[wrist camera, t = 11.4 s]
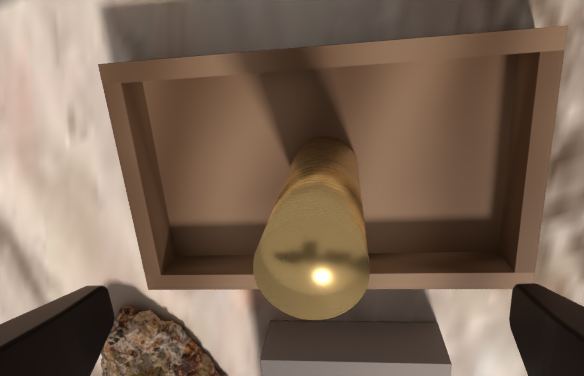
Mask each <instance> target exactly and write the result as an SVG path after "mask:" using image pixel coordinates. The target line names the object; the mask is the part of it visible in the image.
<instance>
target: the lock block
mask: <svg viewBox="0 0 584 376" xmlns="http://www.w3.org/2000/svg"><path fill="white" fill-rule="evenodd" d="M260 362H261V370H262V376H451V366H452V364H451V361H450V358H449V355H448V352H447V349H446V346H445V343H444V340H443V338H442V335H441V332H440V329H439V326H438V323H432V322H317V321H270V324H269V328H268V332H267V336H266V340H265V344H264V348H263V351H262V355H261V359H260Z"/></svg>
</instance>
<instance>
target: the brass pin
mask: <svg viewBox="0 0 584 376" xmlns="http://www.w3.org/2000/svg"><path fill="white" fill-rule="evenodd" d="M253 272H254V277H255V281H256V283H257V286H258V288H259V290H260V291H261V293H262V294H263V296H264V297H265V298H266V299H267V300H268V301H269V302H270V303H271V304H272V305H273V306H274V307H276V308H277V309H279V310H280V311H282V312H284V313H286V314H288V315H290V316H293V317H296V318H300V319H306V320H323V319H329V318H333V317H336V316H338V315H341V314H343V313H345V312H347V311H348V310H350V309H351V308H352V307H354V306H355V305H356V304H357V303H358V302H359V300H360V299H361V298H362V296H363V295H364V293H365V291H366V289H367V286H368V283H369V278H370V265H369V257H368V248H367V239H366V231H365V222H364V213H363V205H362V196H361V187H360V179H359V170H358V162H357V158H356V155H355V153H354V152H353V150H352V149H351V148H350V147H349V145H347V144H346V143H345V142H343V141H342V140H340V139H338V138H335V137H330V136H321V137H316V138H313V139H311V140H309V141H307V142H306V143H304V144H303V145H302V146H301V147H300V148H299V150H298V151H297V153H296V155H295V157H294V160H293V162H292V165H291V167H290V169H289V172H288V174H287V177H286V179H285V182H284V184H283V186H282V189H281V191H280V194H279V196H278V198H277V201H276V203H275V206H274V208H273V211H272V213H271V215H270V218H269V220H268V223H267V225H266V228H265V230H264V232H263V235H262V237H261V240H260V242H259V244H258V247H257V249H256V252H255V255H254V261H253Z"/></svg>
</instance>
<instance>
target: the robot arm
mask: <svg viewBox="0 0 584 376" xmlns="http://www.w3.org/2000/svg"><path fill="white" fill-rule="evenodd" d="M114 319H115V318H114V312H113V308H112V304H111V300H110V296H109V293H108V290H107V288H106V287H104V286H86V287H83V288H81V289H79V290H77V291H74V292H72V293H70V294H68V295H65V296H63V297H61V298H59V299H56V300H54V301H52V302H49V303H47V304H45V305H43V306H40V307H38V308H36V309H34V310H31V311H29V312H27V313H25V314H22V315H20V316H18V317H16V318H13V319H11V320H9V321H7V322H4V323H2V324H0V376H90V375H91V373H92V371H93V369H94V366H95V364H96V362H97V360H98V358H99V356H100V354H101V351H102V349H103V347H104V345H105V343H106V341H107V338H108V336H109V334H110V332H111V330H112V328H113V325H114ZM509 321H510V327H511V331H512V333H513V336H514V339H515V341H516V344H517V347H518V350H519V352H520V355H521V358H522V360H523V363H524V366H525V368H526V371H527V374H528V376H584V307H583V306H581V305H579V304H577V303H575V302H573V301H571V300H569V299H567V298H565V297H563V296H561V295H559V294H557V293H555V292H553V291H551V290H549V289H547V288H545V287H543V286H541V285H539V284H535V283H523V284H516V285H515V286H514V288H513V291H512V299H511V308H510V317H509Z"/></svg>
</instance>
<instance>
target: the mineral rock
mask: <svg viewBox="0 0 584 376" xmlns="http://www.w3.org/2000/svg"><path fill="white" fill-rule="evenodd" d="M101 354H102V357H103V358H102V359H101V362H102V363H101V366H102V369H103V371H104V373H105V374H104V376H221V375H220V374H219V373H218V372H217V371H216V370H215V368H214V363H213V361H212V360H211V358H210V357H209V356H208V355H207V354H206V353H204V352H203V351H202V347H199V346H198V345H197V344H196V343H194V342H193V340H192V338H191V337H190V336H189V335H187V334H186V332H185V331H184V330H183V328H182V326H181V325H179V324H177V323H174V321H173V320H172V321H163V320H160V319H159V318H158V317H157V316H156V315H155V314H154V313H153V312H152V311H151V310H148V311H141V312H138V311H137V310H136V309H135V308H134V307H131V306H124V307H121V308H120V310H119V312H118V318H115V319H114V325H113V328H112V330H111V332H110V334H109V336H108V338H107V341H106V343H105V345H104V347H103V349H102V351H101Z"/></svg>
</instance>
